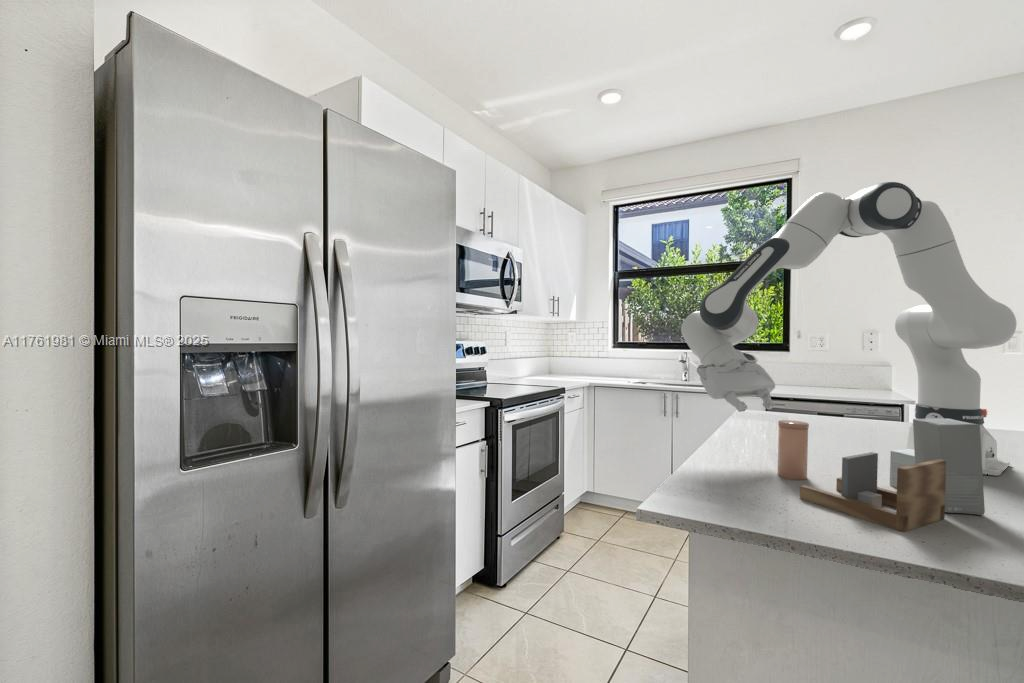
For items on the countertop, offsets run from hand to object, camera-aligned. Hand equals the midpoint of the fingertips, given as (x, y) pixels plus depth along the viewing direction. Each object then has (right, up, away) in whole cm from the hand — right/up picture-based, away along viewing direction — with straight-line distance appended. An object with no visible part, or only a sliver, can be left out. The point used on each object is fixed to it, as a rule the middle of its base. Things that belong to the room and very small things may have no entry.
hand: (757, 408), depth 115 cm
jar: (+4, -14, -8) cm, 16 cm away
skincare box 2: (+21, -14, -26) cm, 36 cm away
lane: (+6, -14, -27) cm, 31 cm away
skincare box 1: (+24, -14, -16) cm, 32 cm away
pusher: (+6, -14, -27) cm, 31 cm away
